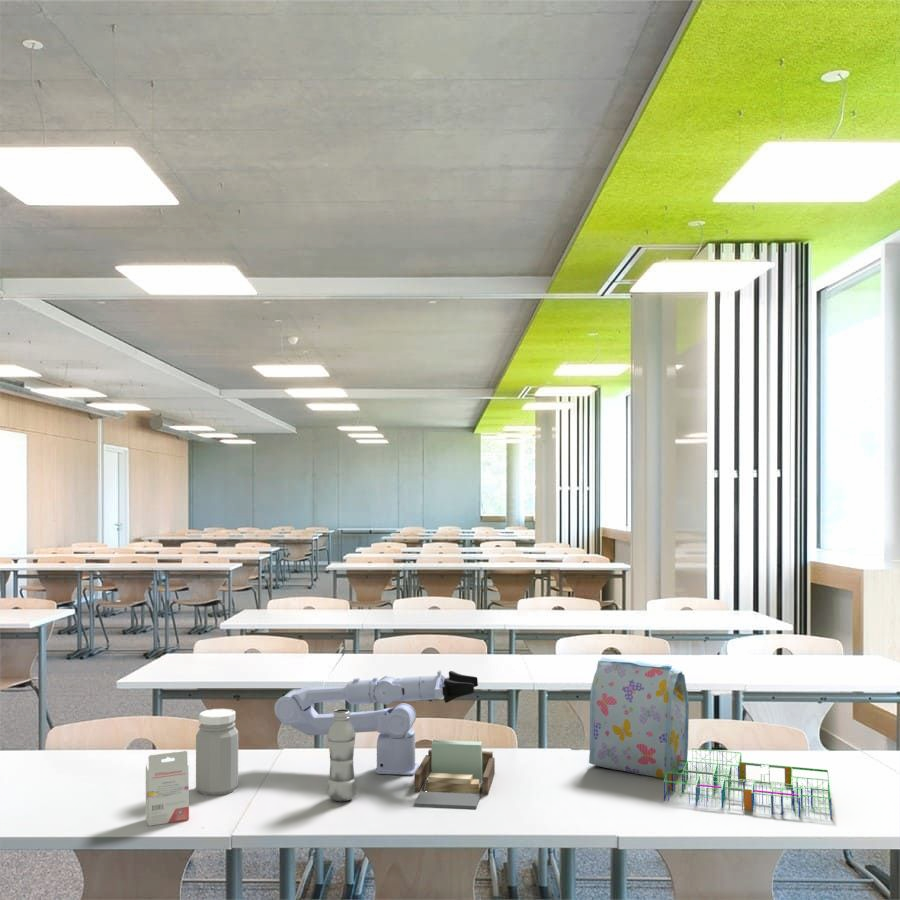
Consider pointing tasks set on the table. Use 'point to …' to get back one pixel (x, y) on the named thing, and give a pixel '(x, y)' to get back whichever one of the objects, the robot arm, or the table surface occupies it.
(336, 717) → the plastic bottle
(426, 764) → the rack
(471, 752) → the pale green block
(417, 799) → the mat
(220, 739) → the jar
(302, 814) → the table surface
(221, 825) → the table surface
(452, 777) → the offcuts
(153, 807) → the ink cartridge box
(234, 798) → the table surface
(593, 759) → the lunch bag
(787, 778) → the house model
